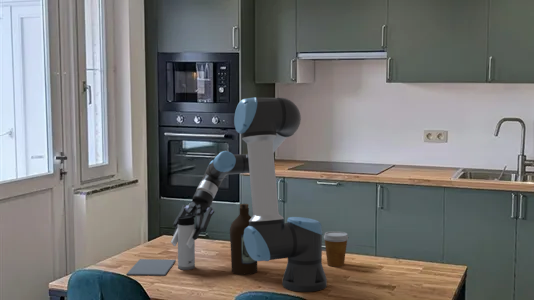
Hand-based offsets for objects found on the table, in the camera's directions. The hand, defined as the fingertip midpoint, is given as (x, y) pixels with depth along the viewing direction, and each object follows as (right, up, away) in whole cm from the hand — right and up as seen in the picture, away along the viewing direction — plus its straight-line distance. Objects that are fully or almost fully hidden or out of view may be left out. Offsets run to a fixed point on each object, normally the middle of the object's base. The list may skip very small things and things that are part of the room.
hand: (180, 244), depth 245 cm
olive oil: (+23, -10, -1) cm, 26 cm away
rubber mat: (-11, -9, +4) cm, 15 cm away
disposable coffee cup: (+58, -9, +8) cm, 59 cm away
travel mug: (+2, -9, +4) cm, 10 cm away
